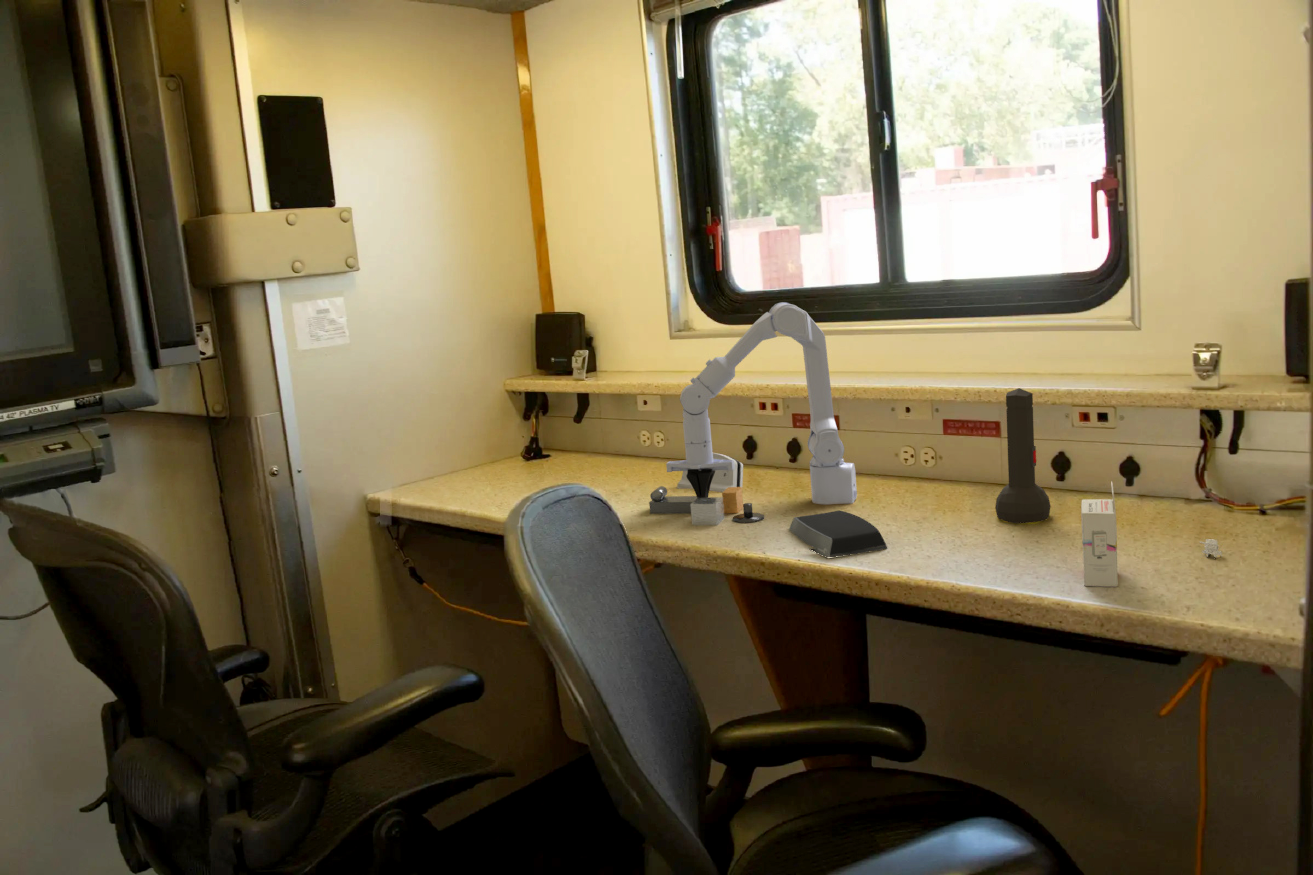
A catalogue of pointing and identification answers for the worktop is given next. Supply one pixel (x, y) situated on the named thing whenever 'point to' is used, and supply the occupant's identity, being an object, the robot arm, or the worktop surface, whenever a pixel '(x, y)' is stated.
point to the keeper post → (748, 515)
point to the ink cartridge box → (1099, 541)
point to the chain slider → (732, 499)
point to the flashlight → (1021, 465)
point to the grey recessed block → (707, 511)
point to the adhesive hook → (1211, 547)
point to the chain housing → (669, 503)
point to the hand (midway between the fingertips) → (703, 503)
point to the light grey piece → (719, 476)
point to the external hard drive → (837, 533)
